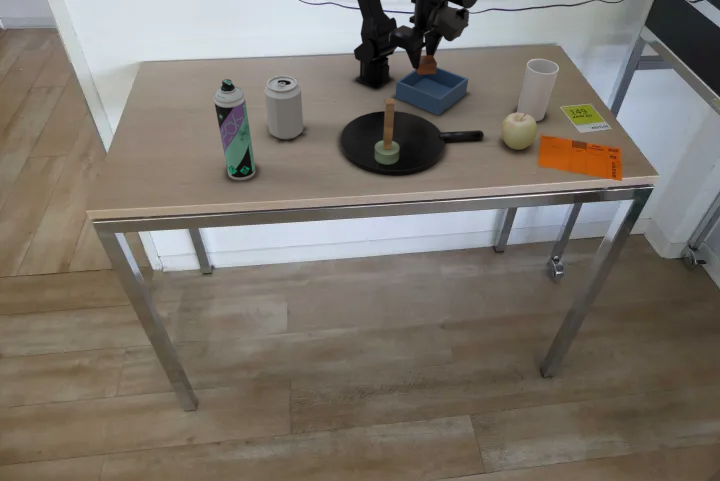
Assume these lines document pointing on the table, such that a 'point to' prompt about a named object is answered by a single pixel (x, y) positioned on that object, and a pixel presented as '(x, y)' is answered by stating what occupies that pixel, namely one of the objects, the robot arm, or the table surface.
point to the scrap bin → (432, 90)
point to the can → (284, 107)
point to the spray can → (234, 130)
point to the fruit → (518, 130)
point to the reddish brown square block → (427, 65)
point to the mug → (537, 87)
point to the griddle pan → (398, 142)
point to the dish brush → (387, 138)
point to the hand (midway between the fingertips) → (422, 64)
